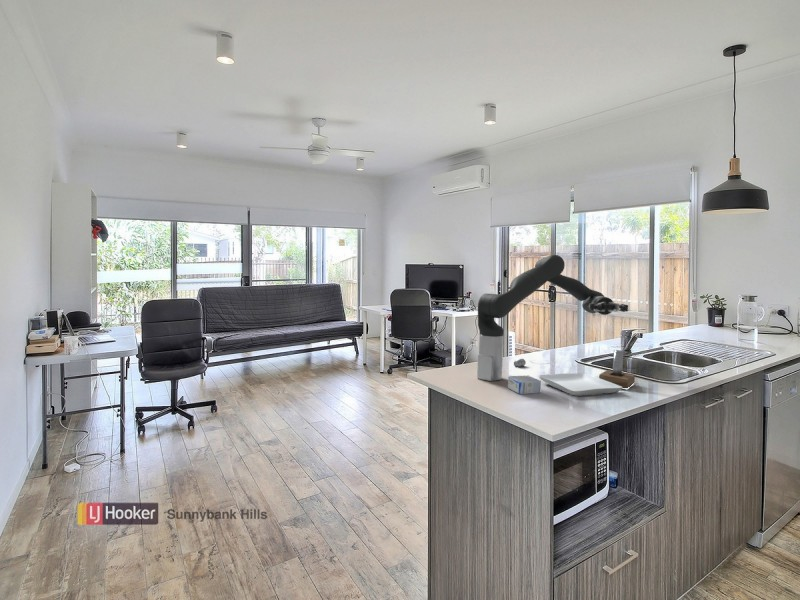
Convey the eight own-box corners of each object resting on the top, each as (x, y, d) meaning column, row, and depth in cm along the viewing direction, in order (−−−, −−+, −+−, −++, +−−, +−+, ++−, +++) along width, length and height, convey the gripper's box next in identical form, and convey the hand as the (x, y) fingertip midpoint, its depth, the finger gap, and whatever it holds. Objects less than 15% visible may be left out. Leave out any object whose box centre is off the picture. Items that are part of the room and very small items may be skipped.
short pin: (513, 360, 199) (518, 358, 202) (514, 367, 198) (519, 366, 202) (519, 360, 196) (525, 358, 200) (521, 367, 196) (526, 365, 200)
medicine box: (528, 386, 166) (507, 388, 164) (529, 374, 166) (507, 376, 164) (540, 392, 159) (518, 394, 157) (541, 380, 158) (519, 381, 156)
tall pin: (619, 386, 169) (621, 352, 168) (610, 384, 171) (612, 351, 170) (622, 384, 172) (624, 351, 171) (613, 383, 174) (615, 349, 173)
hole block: (627, 390, 164) (627, 379, 164) (598, 385, 171) (599, 374, 170) (634, 384, 172) (635, 374, 171) (606, 380, 178) (607, 370, 178)
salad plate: (624, 395, 159) (624, 386, 158) (573, 400, 152) (573, 390, 152) (583, 380, 179) (583, 371, 178) (536, 383, 173) (537, 374, 172)
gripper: (585, 296, 197) (594, 298, 181) (620, 297, 194) (632, 300, 178) (584, 313, 197) (593, 317, 181) (619, 314, 195) (631, 318, 179)
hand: (612, 308), depth 180 cm, fingers open, 8 cm apart
